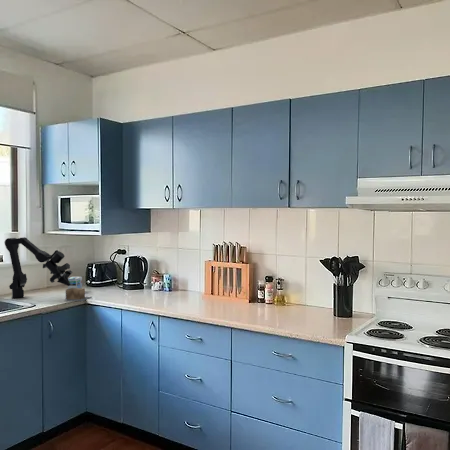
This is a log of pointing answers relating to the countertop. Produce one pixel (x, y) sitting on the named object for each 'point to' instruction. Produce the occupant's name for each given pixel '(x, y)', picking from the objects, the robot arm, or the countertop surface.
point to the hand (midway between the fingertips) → (69, 285)
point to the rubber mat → (78, 299)
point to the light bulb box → (75, 282)
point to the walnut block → (75, 293)
